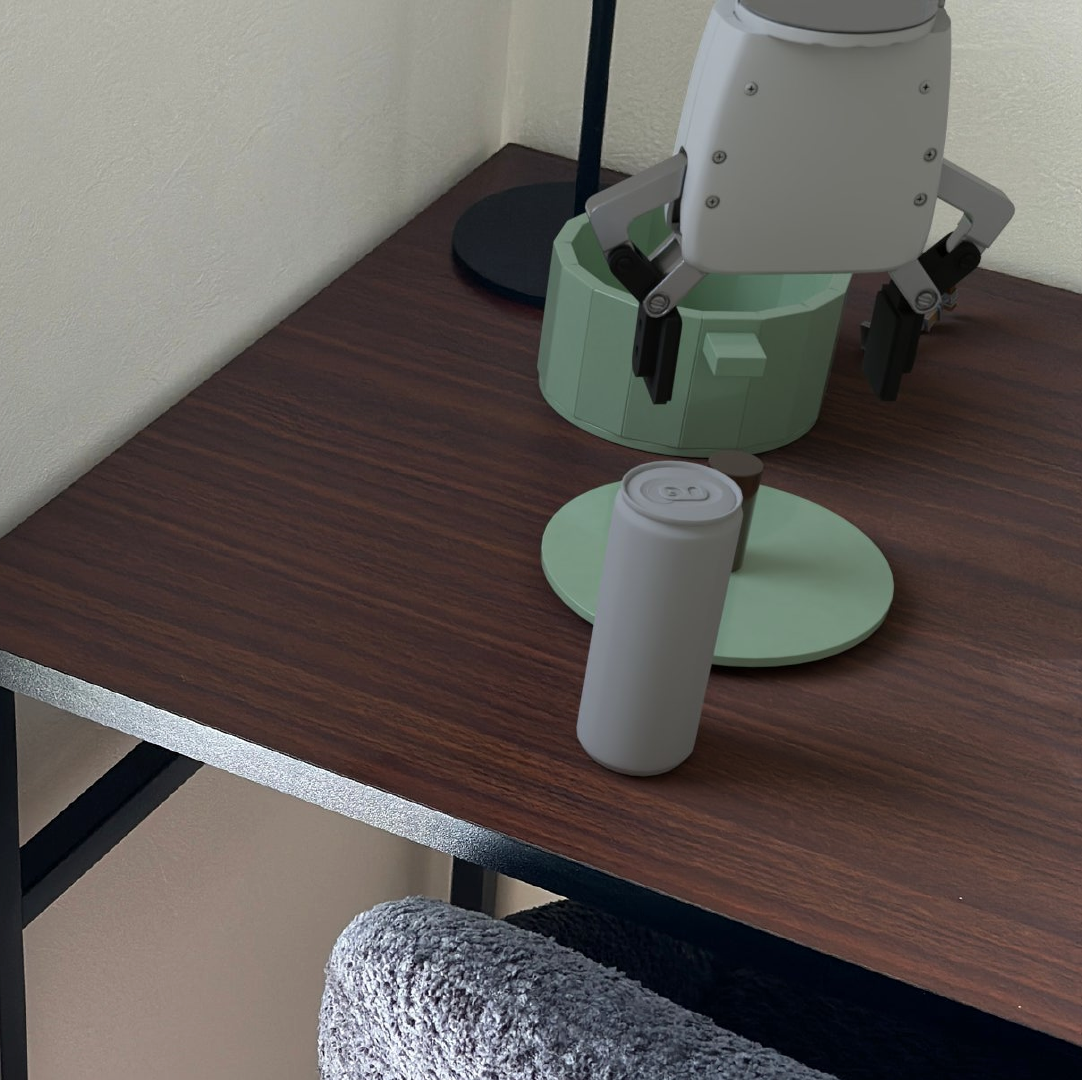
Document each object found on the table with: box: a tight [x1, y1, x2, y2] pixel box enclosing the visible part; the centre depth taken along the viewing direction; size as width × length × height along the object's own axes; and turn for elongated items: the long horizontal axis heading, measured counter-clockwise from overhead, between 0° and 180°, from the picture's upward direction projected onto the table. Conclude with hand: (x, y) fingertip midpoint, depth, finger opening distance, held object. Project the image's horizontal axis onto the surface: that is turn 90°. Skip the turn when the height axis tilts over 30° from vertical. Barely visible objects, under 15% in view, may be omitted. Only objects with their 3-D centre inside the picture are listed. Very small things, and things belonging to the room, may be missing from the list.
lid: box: [539, 450, 895, 668], centre depth 95 cm, size 16×16×6 cm
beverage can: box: [576, 460, 743, 777], centre depth 83 cm, size 5×5×12 cm
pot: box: [536, 205, 854, 459], centre depth 109 cm, size 15×20×8 cm
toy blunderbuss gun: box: [859, 284, 959, 351], centre depth 117 cm, size 2×8×4 cm, turn 133°
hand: (766, 388), depth 91 cm, fingers open, 9 cm apart
